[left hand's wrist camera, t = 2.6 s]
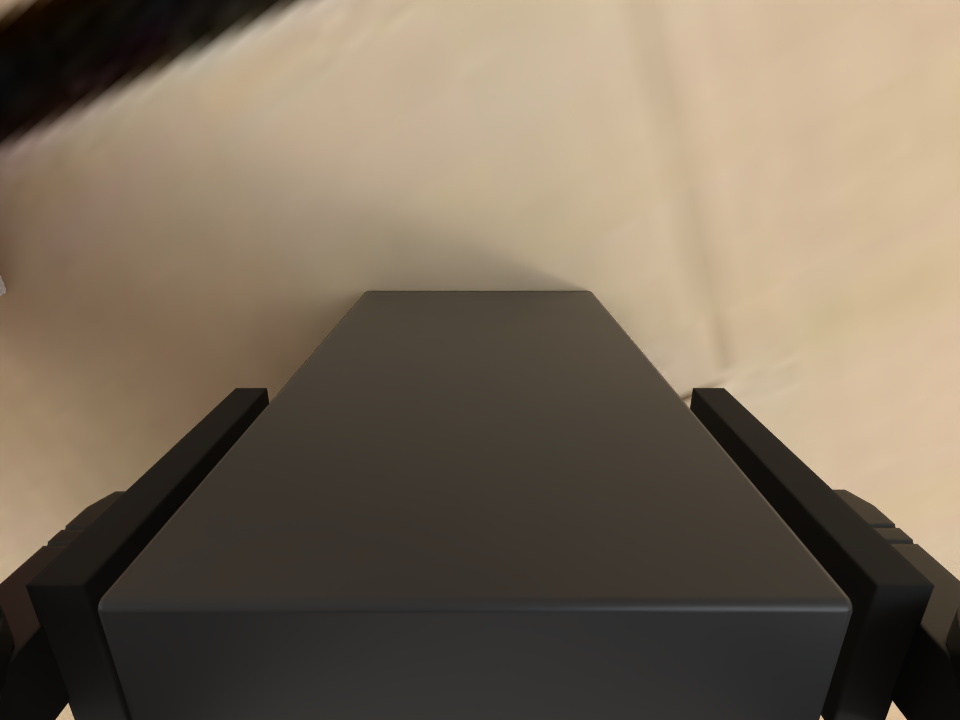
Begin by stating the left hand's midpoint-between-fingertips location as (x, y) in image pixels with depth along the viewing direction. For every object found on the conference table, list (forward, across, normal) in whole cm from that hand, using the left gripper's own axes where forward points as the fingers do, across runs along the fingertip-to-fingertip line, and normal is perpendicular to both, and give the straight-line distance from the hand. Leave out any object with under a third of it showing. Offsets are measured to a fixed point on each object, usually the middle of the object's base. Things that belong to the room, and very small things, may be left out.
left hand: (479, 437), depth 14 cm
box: (+3, 0, -8) cm, 9 cm away
